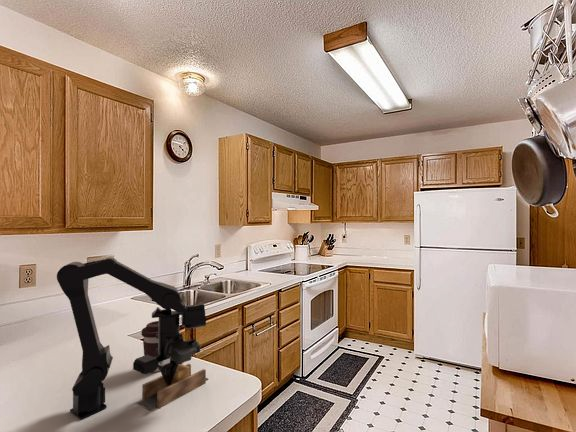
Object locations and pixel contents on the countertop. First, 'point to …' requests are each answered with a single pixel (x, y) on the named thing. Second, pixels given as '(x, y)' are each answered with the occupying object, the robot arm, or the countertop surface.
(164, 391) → the trough
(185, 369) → the block
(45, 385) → the countertop surface
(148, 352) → the coffee cup
